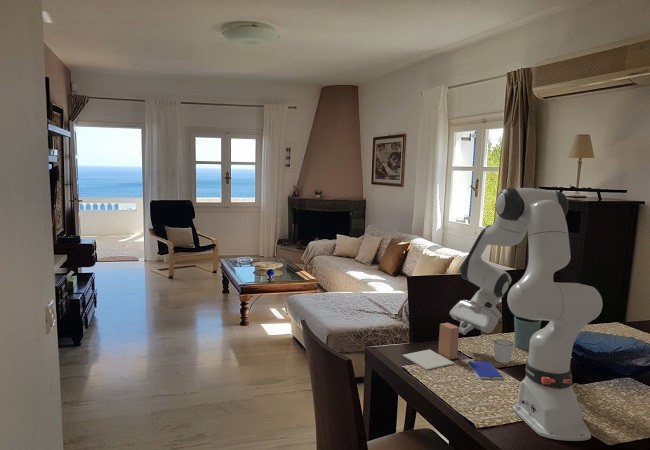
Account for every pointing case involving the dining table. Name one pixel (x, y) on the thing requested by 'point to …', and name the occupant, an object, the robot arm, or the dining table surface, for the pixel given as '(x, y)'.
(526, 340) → the teal bucket
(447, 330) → the block
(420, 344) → the dining table surface
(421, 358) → the mat
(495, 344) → the shot glass
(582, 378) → the dining table surface
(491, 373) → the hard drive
